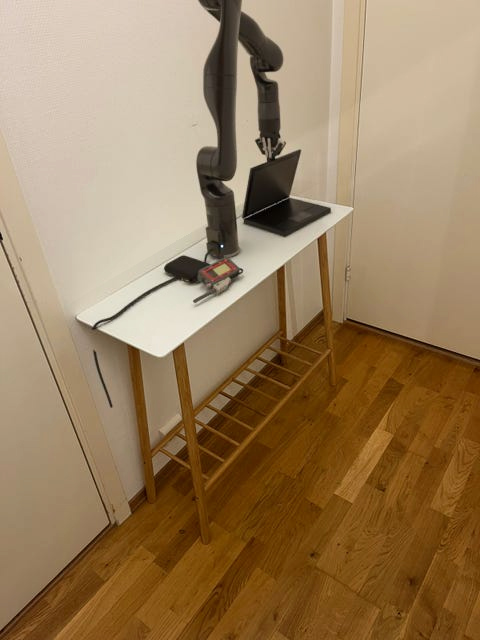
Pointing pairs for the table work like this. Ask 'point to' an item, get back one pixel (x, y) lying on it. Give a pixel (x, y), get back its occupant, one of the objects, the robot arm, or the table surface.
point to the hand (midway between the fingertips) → (271, 167)
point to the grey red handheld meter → (218, 276)
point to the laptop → (287, 216)
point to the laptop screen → (270, 183)
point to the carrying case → (185, 268)
